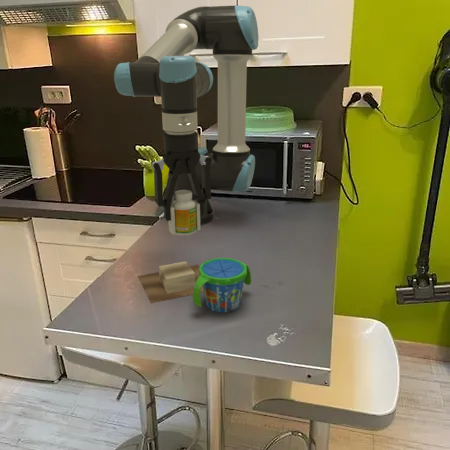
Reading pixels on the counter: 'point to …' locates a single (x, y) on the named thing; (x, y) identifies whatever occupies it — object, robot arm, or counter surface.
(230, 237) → the counter surface
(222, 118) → the robot arm
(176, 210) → the supplement bottle
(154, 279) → the board
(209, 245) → the counter surface
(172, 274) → the birch block
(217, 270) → the snack cup
